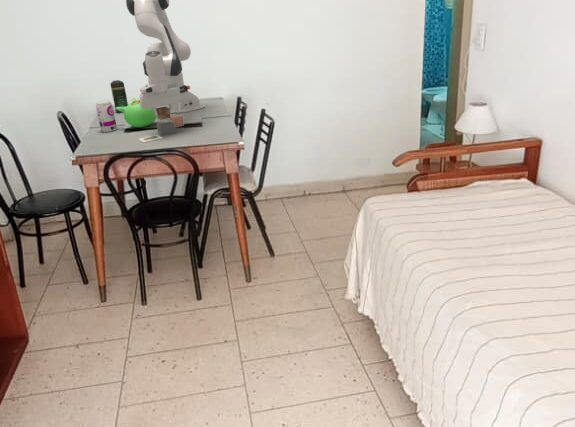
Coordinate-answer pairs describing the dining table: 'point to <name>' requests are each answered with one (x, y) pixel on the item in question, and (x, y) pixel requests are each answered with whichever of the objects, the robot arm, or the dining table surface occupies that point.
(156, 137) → the card
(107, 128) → the supplement can
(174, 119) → the terracotta cube
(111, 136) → the dining table surface
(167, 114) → the walnut cube
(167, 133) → the charcoal base block
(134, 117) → the toy bird
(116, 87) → the coffee jar
